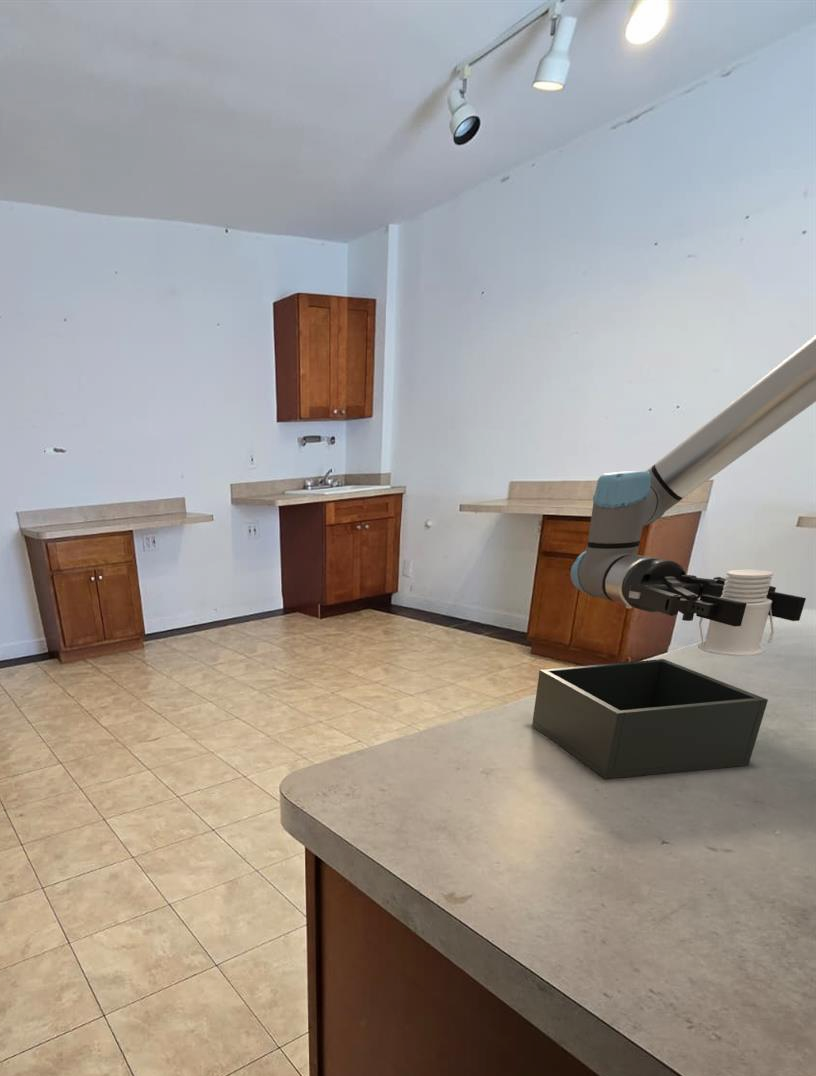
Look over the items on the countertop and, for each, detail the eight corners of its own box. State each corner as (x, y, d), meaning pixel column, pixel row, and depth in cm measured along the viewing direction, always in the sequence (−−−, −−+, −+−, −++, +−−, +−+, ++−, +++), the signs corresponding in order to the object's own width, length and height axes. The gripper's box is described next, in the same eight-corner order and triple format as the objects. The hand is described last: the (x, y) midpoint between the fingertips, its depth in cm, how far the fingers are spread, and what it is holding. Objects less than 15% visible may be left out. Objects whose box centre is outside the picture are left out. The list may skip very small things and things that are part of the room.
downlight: (699, 657, 82) (718, 577, 78) (688, 643, 88) (705, 568, 84) (776, 659, 79) (799, 576, 75) (759, 644, 85) (780, 567, 81)
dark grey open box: (651, 714, 86) (663, 658, 83) (748, 765, 71) (768, 699, 68) (531, 725, 86) (539, 669, 82) (604, 779, 71) (617, 713, 67)
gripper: (701, 602, 99) (838, 635, 78) (579, 613, 99) (684, 650, 78) (713, 552, 96) (858, 573, 75) (587, 563, 95) (698, 587, 75)
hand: (770, 612), depth 77 cm, fingers closed on downlight, 7 cm apart
